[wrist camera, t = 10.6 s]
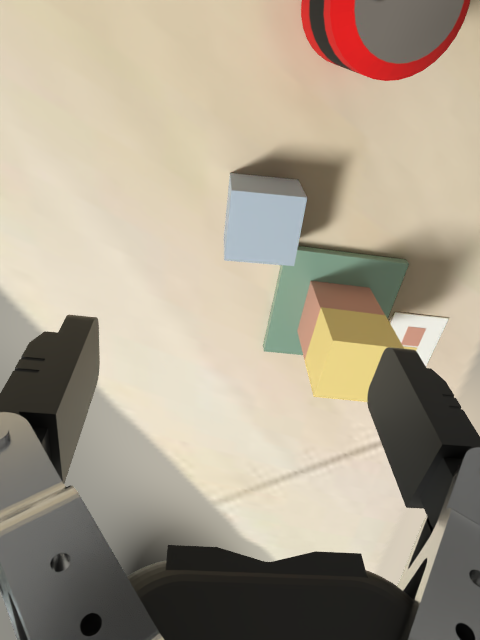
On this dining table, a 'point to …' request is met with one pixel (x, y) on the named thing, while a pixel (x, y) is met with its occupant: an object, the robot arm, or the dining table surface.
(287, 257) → the slate brick
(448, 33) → the soda can
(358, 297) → the base brick
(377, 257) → the build plate
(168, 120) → the dining table surface
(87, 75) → the dining table surface
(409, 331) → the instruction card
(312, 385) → the mustard brick
